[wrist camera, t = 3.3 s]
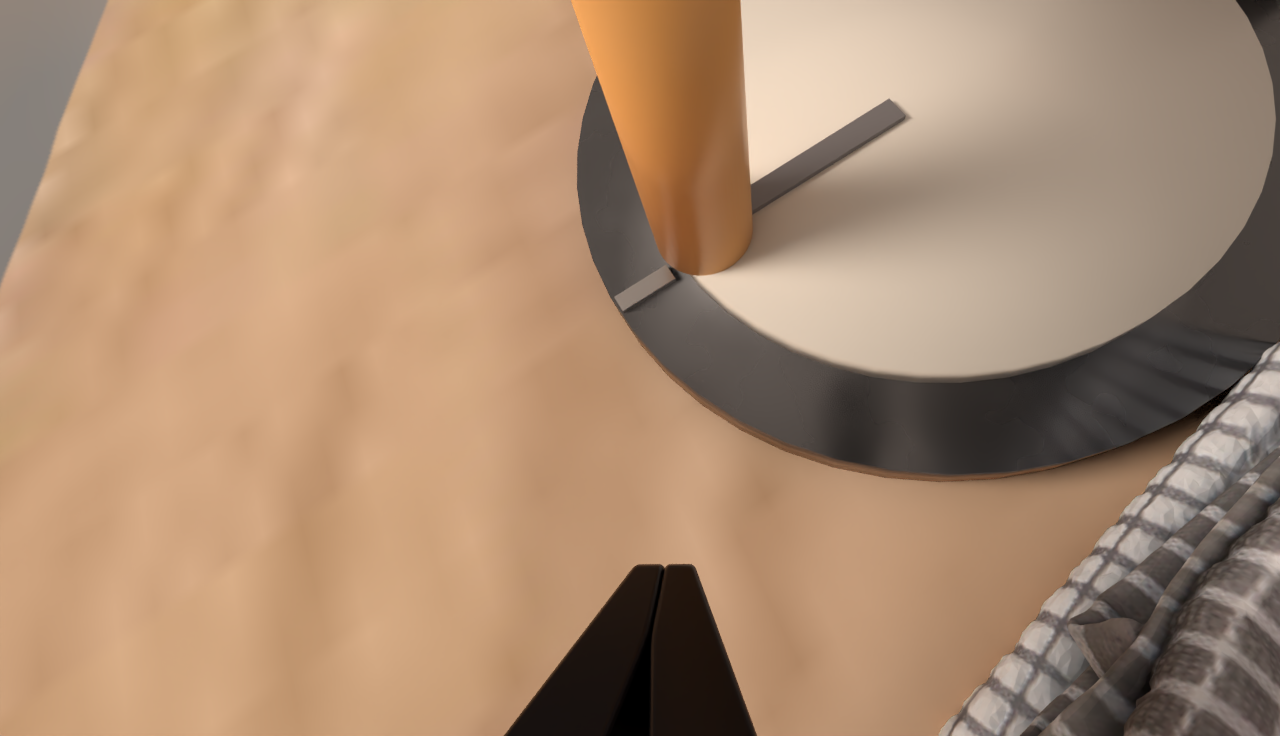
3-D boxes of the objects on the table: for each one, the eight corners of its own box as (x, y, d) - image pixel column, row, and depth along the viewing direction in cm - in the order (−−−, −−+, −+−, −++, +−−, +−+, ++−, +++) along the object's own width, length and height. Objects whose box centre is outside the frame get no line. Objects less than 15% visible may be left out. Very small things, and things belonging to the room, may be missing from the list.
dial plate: (1509, 295, 17) (1585, 267, 16) (726, 597, 19) (722, 599, 17) (1038, -182, 25) (1057, -233, 24) (518, 57, 27) (502, 24, 25)
